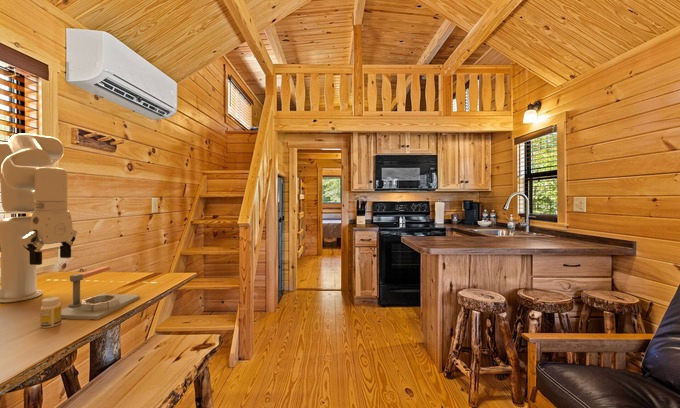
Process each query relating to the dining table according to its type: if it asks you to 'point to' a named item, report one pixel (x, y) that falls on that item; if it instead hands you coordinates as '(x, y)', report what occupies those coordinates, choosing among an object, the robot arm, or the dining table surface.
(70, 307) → the board
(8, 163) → the robot arm
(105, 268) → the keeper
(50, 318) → the supplement bottle
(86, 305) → the socket
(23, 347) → the dining table surface
